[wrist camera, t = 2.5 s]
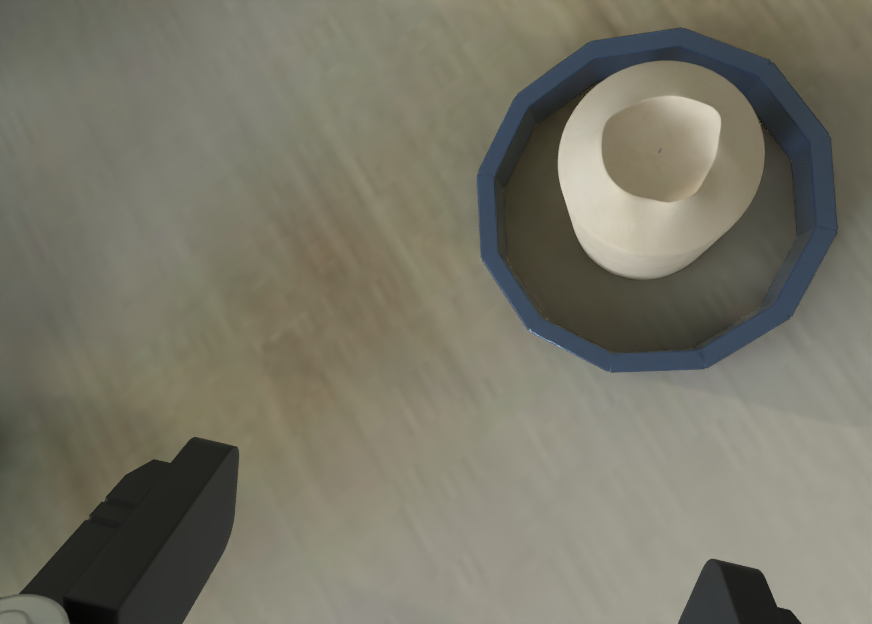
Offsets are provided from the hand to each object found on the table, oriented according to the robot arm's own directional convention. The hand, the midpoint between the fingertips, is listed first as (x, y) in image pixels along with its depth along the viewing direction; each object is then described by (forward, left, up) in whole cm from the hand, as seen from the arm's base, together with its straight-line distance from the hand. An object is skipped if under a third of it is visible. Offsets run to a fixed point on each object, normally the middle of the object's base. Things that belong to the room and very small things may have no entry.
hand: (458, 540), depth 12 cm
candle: (-5, +8, -17) cm, 19 cm away
